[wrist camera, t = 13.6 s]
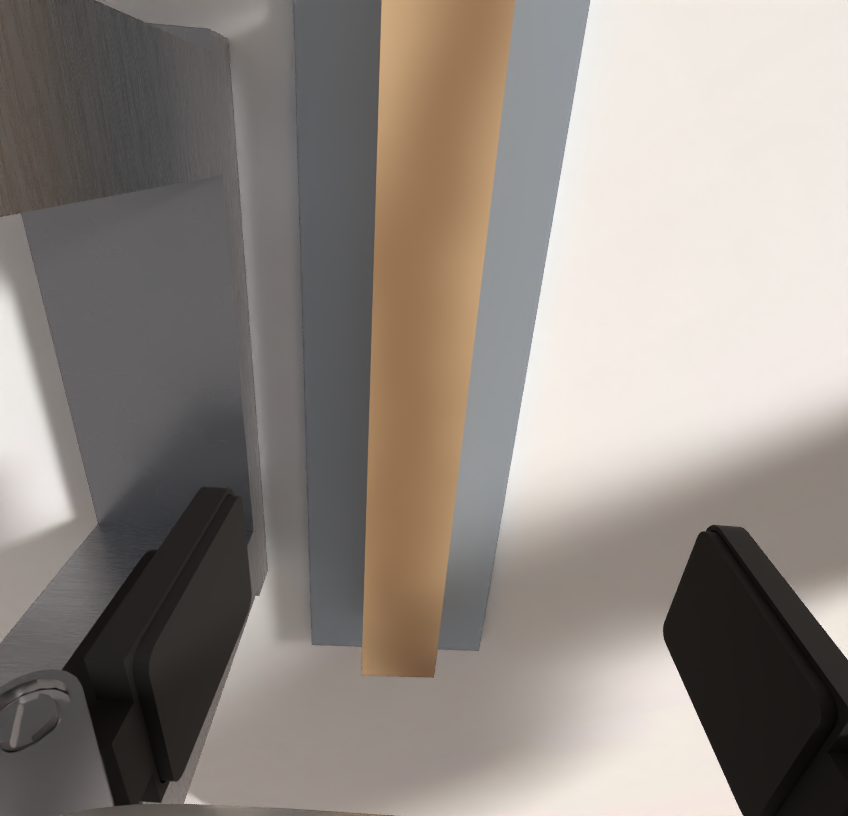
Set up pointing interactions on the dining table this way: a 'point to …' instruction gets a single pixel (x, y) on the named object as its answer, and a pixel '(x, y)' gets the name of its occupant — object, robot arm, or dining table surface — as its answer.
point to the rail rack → (131, 290)
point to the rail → (425, 304)
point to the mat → (353, 293)
